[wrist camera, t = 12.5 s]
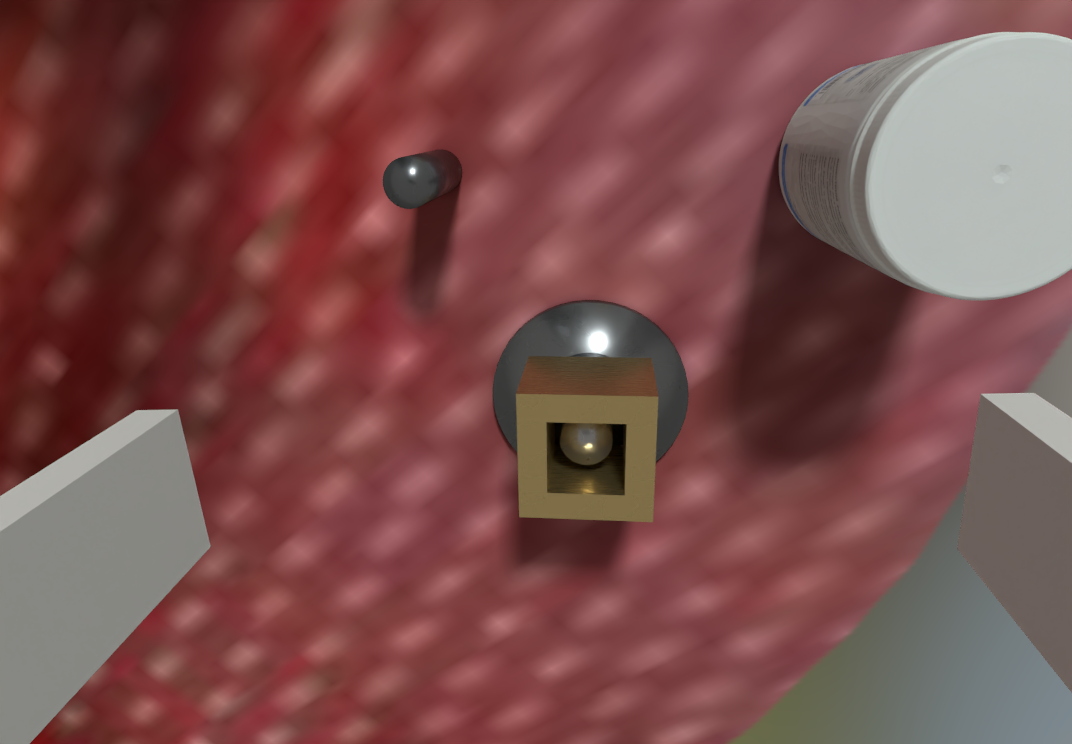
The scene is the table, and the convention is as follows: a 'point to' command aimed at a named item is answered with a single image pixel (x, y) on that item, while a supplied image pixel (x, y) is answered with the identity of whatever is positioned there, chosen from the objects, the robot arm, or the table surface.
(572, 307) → the hub
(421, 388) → the table surface
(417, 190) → the stand rod
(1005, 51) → the supplement tub
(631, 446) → the collar
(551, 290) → the table surface
